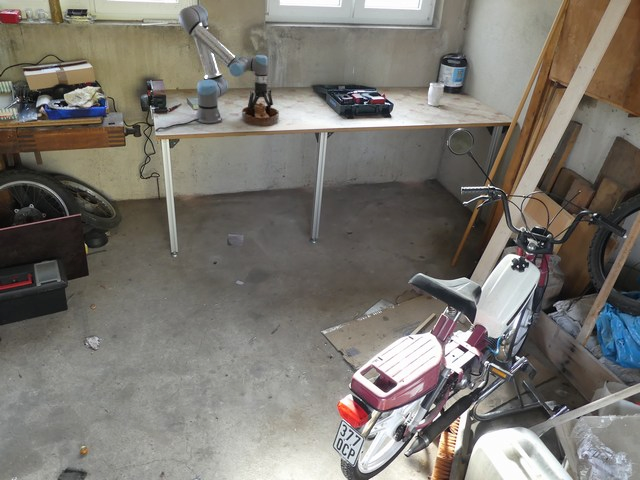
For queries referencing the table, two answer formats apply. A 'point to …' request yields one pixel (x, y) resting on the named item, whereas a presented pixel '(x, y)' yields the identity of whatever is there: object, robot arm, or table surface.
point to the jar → (435, 93)
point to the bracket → (260, 110)
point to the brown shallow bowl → (259, 121)
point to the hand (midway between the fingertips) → (260, 117)
